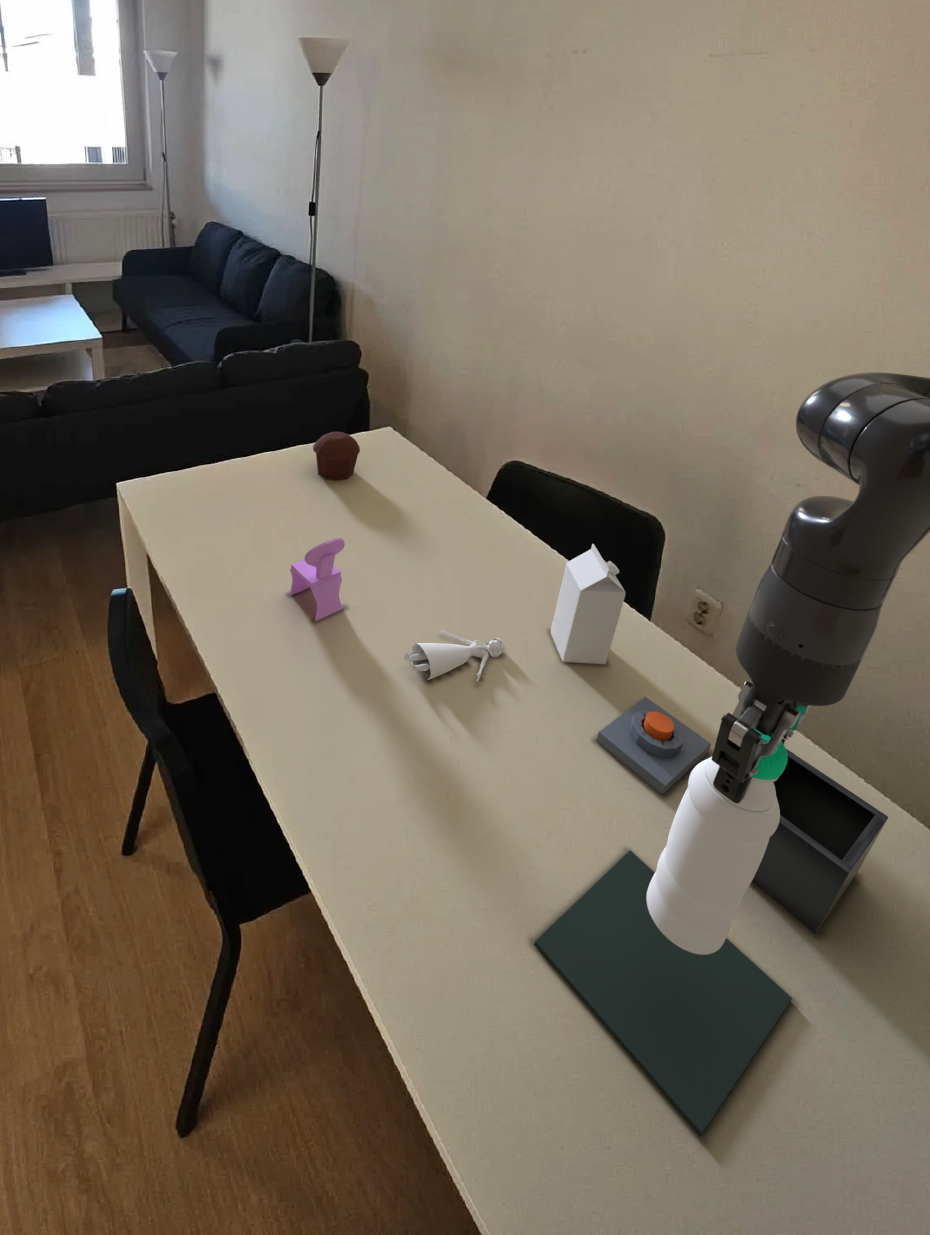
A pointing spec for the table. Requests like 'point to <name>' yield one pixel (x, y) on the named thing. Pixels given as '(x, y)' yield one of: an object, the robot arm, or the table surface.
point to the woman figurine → (451, 654)
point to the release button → (658, 726)
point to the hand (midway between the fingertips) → (742, 776)
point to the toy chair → (320, 576)
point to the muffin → (336, 455)
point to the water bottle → (713, 855)
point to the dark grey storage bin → (815, 842)
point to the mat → (664, 992)
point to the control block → (653, 746)
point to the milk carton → (587, 609)
